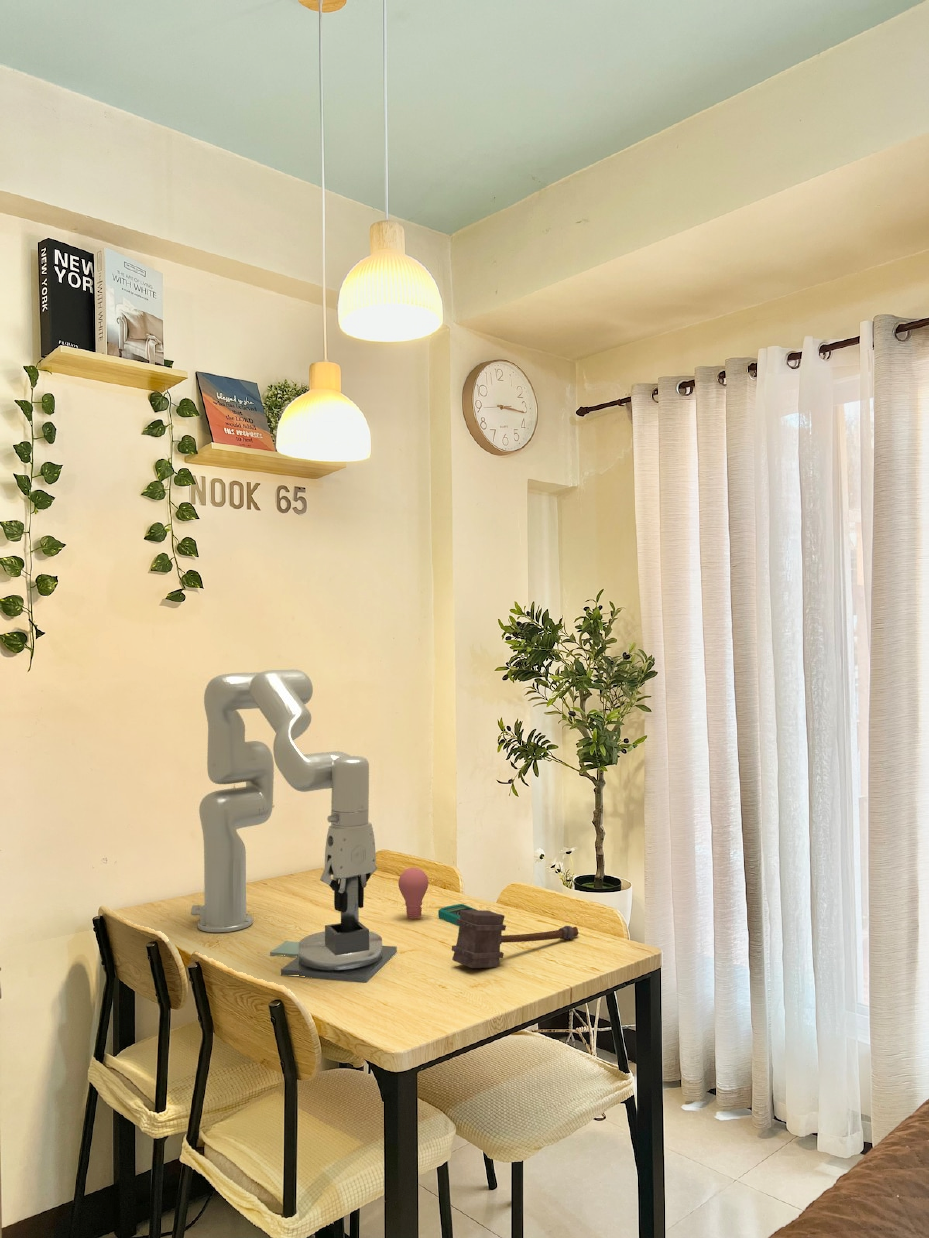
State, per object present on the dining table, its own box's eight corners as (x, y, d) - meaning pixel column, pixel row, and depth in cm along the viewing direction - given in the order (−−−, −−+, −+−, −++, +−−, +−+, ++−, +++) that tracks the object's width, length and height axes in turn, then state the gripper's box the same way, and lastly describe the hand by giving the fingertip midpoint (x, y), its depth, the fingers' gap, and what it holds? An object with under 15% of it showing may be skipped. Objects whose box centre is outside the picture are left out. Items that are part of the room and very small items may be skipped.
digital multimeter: (473, 934, 207) (473, 921, 207) (437, 919, 219) (436, 907, 219) (499, 928, 211) (499, 915, 211) (462, 914, 223) (462, 901, 223)
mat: (269, 954, 194) (269, 952, 194) (285, 943, 201) (285, 940, 201) (303, 957, 192) (303, 954, 192) (317, 945, 199) (317, 943, 199)
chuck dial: (311, 975, 176) (311, 939, 177) (289, 949, 192) (288, 917, 192) (394, 961, 184) (394, 926, 184) (366, 937, 199) (365, 906, 199)
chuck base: (280, 975, 181) (280, 969, 181) (318, 946, 199) (318, 940, 199) (366, 982, 177) (366, 975, 177) (396, 952, 194) (396, 946, 194)
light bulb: (411, 925, 213) (410, 873, 214) (392, 918, 219) (392, 867, 219) (434, 918, 218) (434, 867, 218) (416, 912, 223) (415, 862, 224)
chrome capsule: (346, 937, 183) (345, 876, 183) (337, 932, 186) (337, 873, 186) (362, 933, 185) (361, 873, 185) (353, 929, 188) (352, 870, 188)
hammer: (449, 959, 185) (456, 908, 186) (562, 956, 205) (567, 910, 206) (470, 968, 179) (477, 916, 181) (584, 964, 199) (589, 917, 201)
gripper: (327, 826, 177) (326, 921, 177) (393, 815, 189) (392, 904, 189) (305, 820, 183) (304, 913, 182) (370, 809, 194) (369, 896, 194)
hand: (349, 907), depth 186 cm, fingers closed on chrome capsule, 3 cm apart
